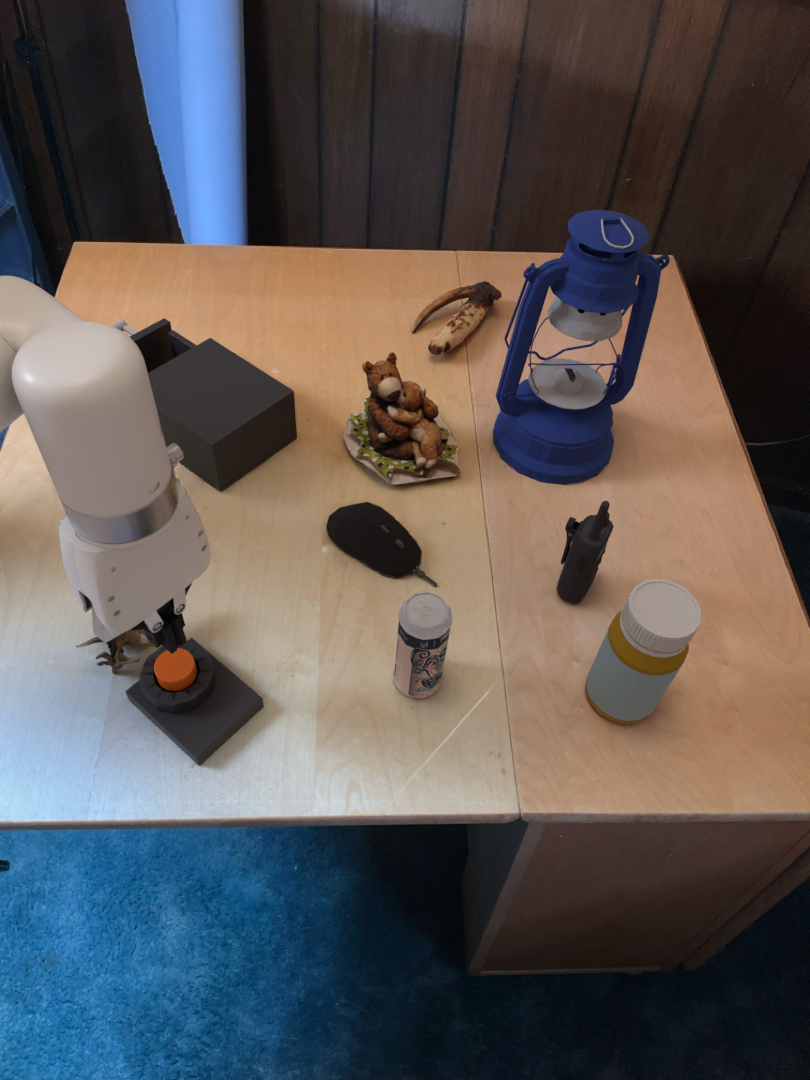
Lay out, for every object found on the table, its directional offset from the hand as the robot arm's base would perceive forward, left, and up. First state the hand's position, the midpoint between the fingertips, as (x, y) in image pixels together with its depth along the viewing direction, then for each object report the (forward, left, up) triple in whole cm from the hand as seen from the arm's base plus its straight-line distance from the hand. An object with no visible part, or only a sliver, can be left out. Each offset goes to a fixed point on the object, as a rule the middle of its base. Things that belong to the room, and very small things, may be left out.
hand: (168, 638), depth 70 cm
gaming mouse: (+3, +26, -10) cm, 28 cm away
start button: (0, 0, -6) cm, 6 cm away
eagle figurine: (-8, 0, -10) cm, 13 cm away
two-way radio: (+21, +36, -10) cm, 43 cm away
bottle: (+32, +28, -10) cm, 43 cm away
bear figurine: (-6, +40, -10) cm, 42 cm away
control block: (+2, 0, -9) cm, 10 cm away
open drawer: (-36, +26, -9) cm, 45 cm away
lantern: (+7, +54, -10) cm, 55 cm away
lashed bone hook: (-17, +64, -10) cm, 67 cm away
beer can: (+16, +16, -10) cm, 24 cm away
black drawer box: (-24, +26, -9) cm, 37 cm away
